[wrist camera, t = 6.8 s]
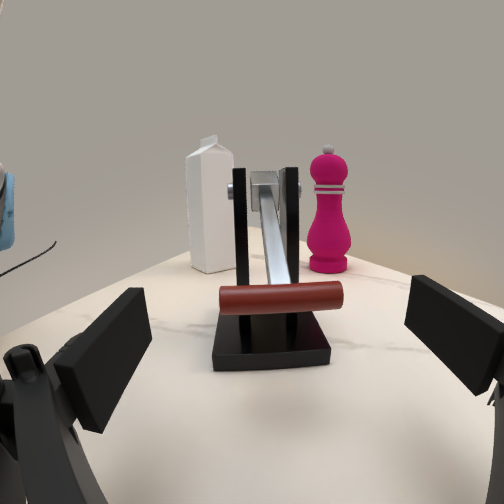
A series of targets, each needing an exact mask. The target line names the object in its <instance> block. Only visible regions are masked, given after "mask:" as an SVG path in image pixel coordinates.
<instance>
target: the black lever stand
mask: <svg viewBox="0 0 504 504" xmlns="http://www.w3.org/2000/svg"><path fill="white" fill-rule="evenodd" d="M232 178H233V183H228V185H227V192H228V200H233V207H234V232H235V255H236V277H237V286H243V285H249V259H248V229H247V200H246V169H245V168H232ZM279 184H280V193H279V206H280V230H281V234H282V239H283V244H284V249H285V253H286V258H287V263H288V268H289V273H290V278H291V283H299V198H300V197H301V184H300V182H299V181H298V167H285V168H283V169H281V170H279ZM330 355H331V347H330V345H329V343H328V341H327V339H326V337H325V335H324V334H323V332H322V330H321V328H320V326H319V324H318V322H317V320H316V318H315V316H314V314H313V312H312V311H307V312H291V313H273V314H250V315H221V313H219V318H218V324H217V329H216V335H215V340H214V346H213V351H212V361H213V370H214V371H237V370H264V369H281V368H294V367H305V366H315V365H325V364H329V363H330Z"/></svg>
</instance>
